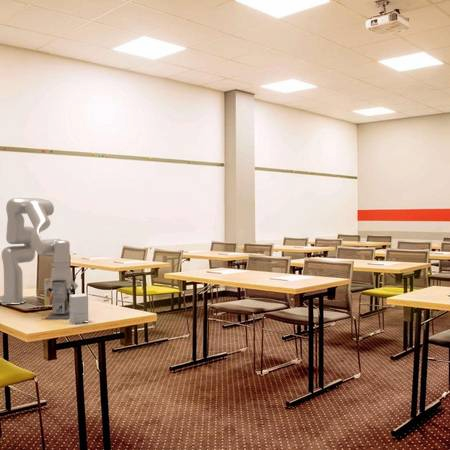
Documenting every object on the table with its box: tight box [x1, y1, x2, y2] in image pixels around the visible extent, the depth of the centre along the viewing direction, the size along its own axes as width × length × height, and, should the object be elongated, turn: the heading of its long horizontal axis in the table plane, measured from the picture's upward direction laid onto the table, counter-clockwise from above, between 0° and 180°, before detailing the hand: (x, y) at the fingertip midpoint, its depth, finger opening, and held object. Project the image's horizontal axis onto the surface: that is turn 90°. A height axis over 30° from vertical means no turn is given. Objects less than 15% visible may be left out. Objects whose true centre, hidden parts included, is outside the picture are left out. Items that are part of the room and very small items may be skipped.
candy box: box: [43, 277, 53, 306], centre depth 274 cm, size 9×4×15 cm, turn 129°
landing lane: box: [41, 311, 70, 320], centre depth 253 cm, size 13×18×1 cm
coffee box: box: [52, 280, 70, 314], centre depth 253 cm, size 9×6×16 cm
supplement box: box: [69, 293, 89, 324], centre depth 239 cm, size 7×7×13 cm
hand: (61, 301), depth 253 cm, fingers closed on coffee box, 6 cm apart
